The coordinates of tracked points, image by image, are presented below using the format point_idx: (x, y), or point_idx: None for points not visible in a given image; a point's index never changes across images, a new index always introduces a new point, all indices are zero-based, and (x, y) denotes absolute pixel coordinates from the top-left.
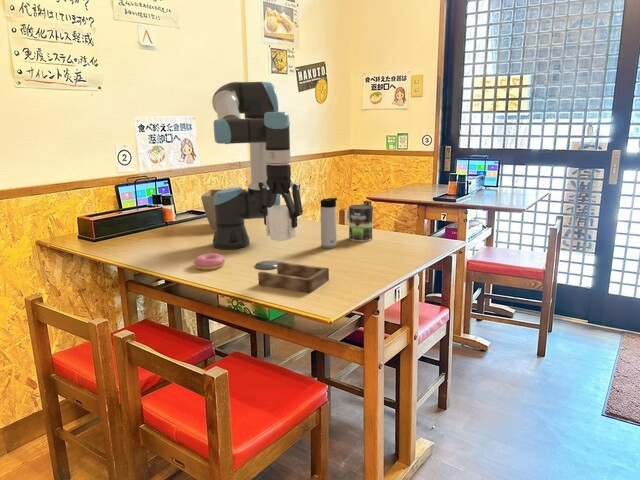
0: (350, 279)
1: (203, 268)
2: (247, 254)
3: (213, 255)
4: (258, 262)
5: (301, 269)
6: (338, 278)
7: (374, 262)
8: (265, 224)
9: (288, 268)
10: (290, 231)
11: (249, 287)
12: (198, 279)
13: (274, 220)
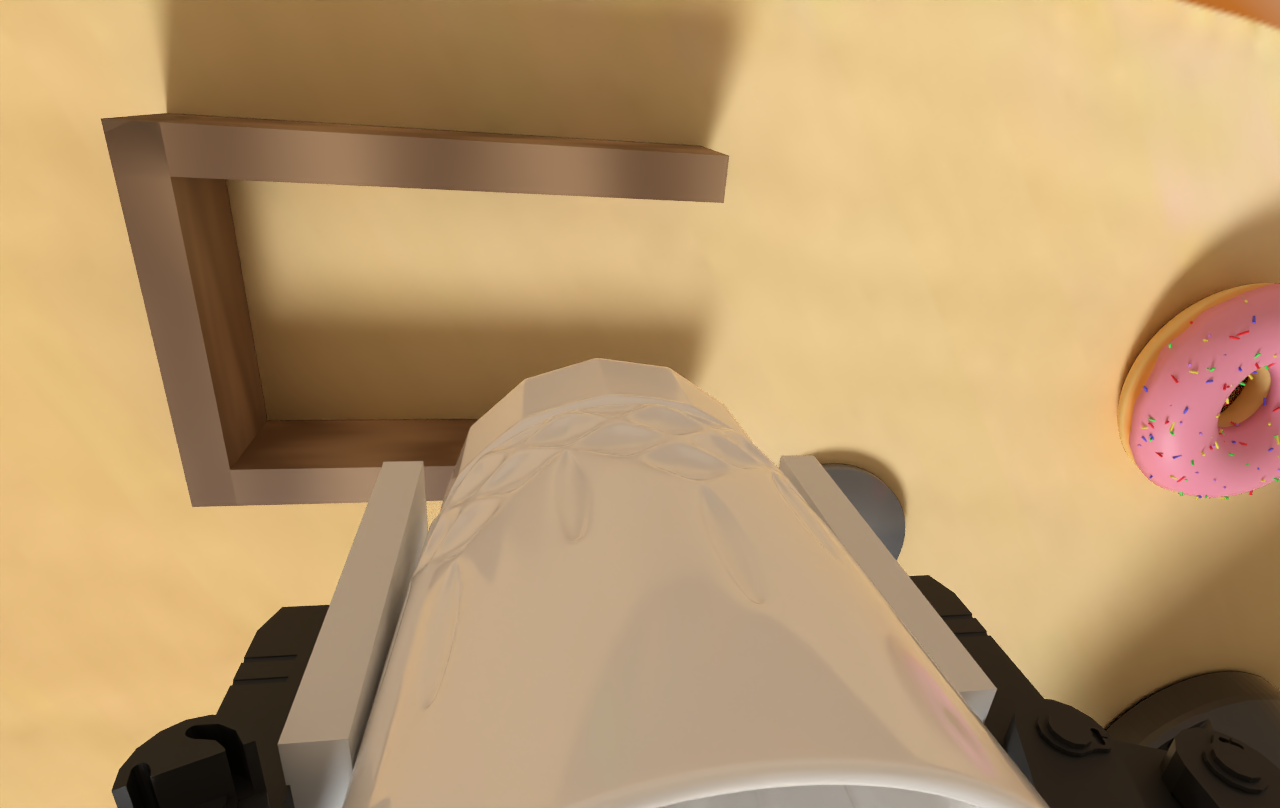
0: (90, 528)
1: (1239, 286)
2: (1029, 660)
3: (1246, 457)
4: (899, 550)
5: (455, 451)
6: (191, 512)
7: None
8: (919, 582)
9: None
10: (370, 528)
11: (745, 55)
12: (1212, 86)
13: (661, 519)
